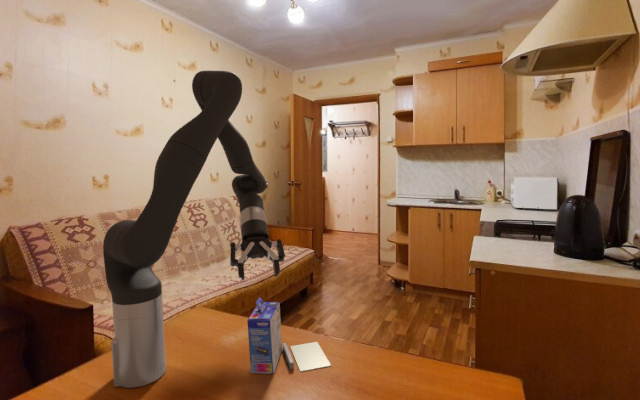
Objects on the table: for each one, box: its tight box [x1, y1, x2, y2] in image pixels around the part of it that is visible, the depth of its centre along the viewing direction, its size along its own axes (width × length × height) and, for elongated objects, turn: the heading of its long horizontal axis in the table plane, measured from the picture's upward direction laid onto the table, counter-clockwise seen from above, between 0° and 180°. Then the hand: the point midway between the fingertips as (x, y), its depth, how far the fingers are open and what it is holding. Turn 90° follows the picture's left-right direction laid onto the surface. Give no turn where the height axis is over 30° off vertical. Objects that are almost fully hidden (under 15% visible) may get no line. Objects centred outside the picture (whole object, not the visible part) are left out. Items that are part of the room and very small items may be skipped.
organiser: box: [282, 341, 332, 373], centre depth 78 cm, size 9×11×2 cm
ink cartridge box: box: [247, 297, 283, 375], centre depth 76 cm, size 10×6×14 cm, turn 176°
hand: (260, 276), depth 86 cm, fingers open, 8 cm apart
